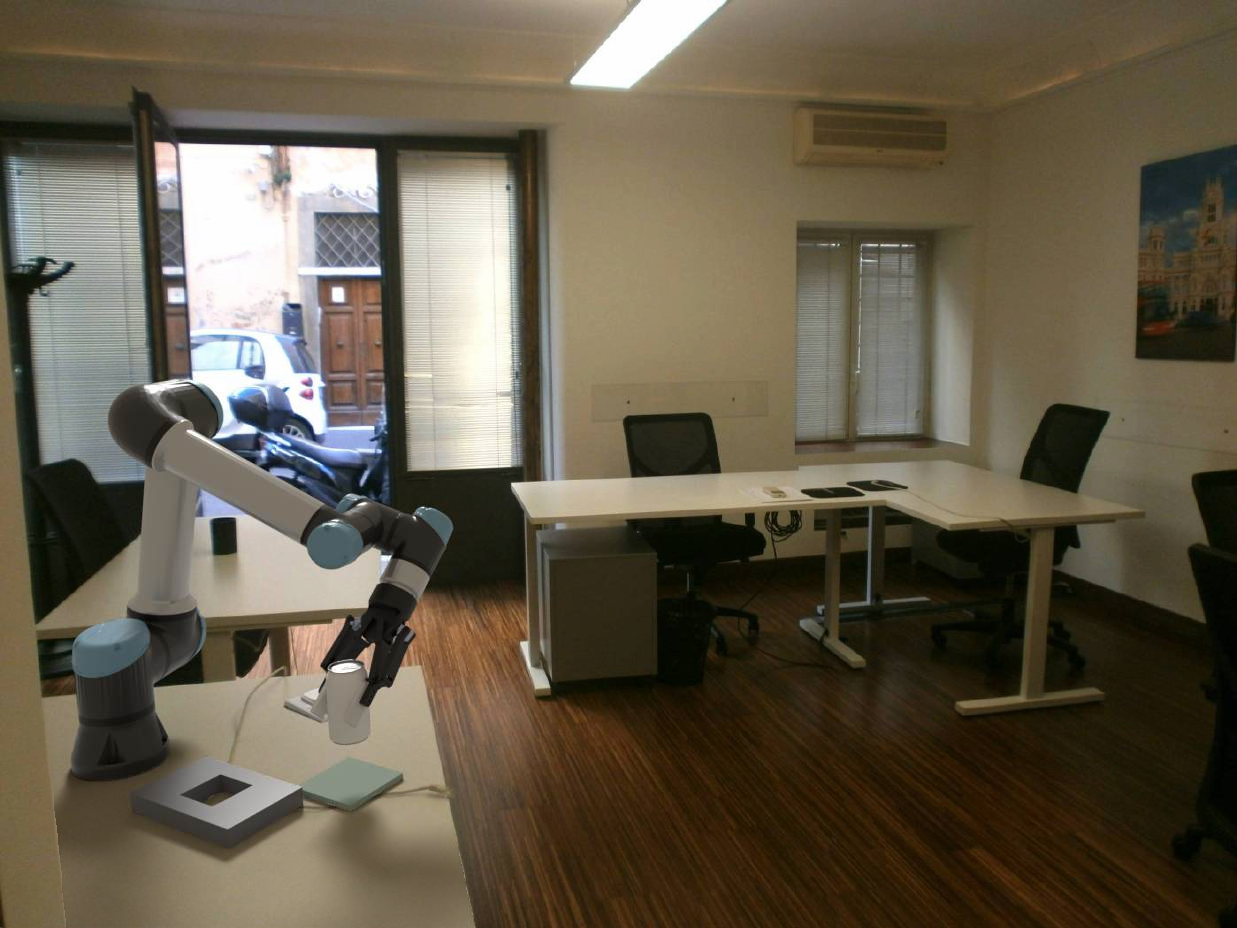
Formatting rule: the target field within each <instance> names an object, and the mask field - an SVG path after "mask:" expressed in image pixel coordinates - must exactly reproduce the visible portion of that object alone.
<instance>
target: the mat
mask: <svg viewBox="0 0 1237 928" xmlns="http://www.w3.org/2000/svg"><path fill="white" fill-rule="evenodd" d="M400 779H401V780H403V779H404V773H403V772H401V771H398V770H395V769H392V768H388V767H385V766H381V765H378V764H374V763H370V762H368V761H364V760H361V759H358V758H355V757H354V758H353V757H351V756H348V757H346V758H344V759H343V760H341V761H339V762H337V763H335V764H333V765H331V766H330V767H328V768H326V769H324V770H323V771H321V772H319V773H317V774H315V775H314V776H312V777H310V778H308V779H307V780H305V781H303V782H301V783H300V784H298V786H301V787H302V790H303V795H304V796H303V797H305V796H306V798H308V797H309V799H311V798H312V799H311V800H314V801H318V802H320V803H323V802H325V803H324V804H326V803H329V804H332V805H335V806H338V807H339V809H342V810H345V811H347V810H348V812H351V813H352V810H353V811H354V810H356V809H357V808H359V807H361V806H362V805H364V804H365V803H367V802H368V801H370V800H371V799H372V798H371V797H372V796H373V795H375V794H377V793H379V792H381V793H383V792H384V791H386V790H387V789H389V788H390V787H392V786H393V784H394V783H395V784H396V782H397V781H398V782H400V781H401V780H400ZM399 780H400V781H399ZM398 782H397V783H398ZM395 784H394V785H395ZM388 787H389V788H388ZM386 788H387V789H386ZM385 789H386V790H385ZM383 790H384V791H383ZM382 791H383V792H382ZM379 794H380V793H379ZM370 798H371V799H370ZM369 799H370V800H369ZM367 800H368V801H367ZM366 801H367V802H366ZM364 802H365V803H364ZM363 803H364V804H363ZM329 804H328V805H329ZM332 805H331V806H332ZM335 806H334V807H335ZM338 807H337V808H338Z"/></svg>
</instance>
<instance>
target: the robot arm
mask: <svg viewBox="0 0 1237 928" xmlns="http://www.w3.org/2000/svg"><path fill="white" fill-rule="evenodd" d="M224 417H225V415H224V409H223V406H222V403H221V400H220V399H219V397H218V396H217V395H216V394H215V392H214V391H213V390H212V388H210V387H208V386H207V385H206V384H205V383H202V382H200V381H197V380H194V379H178V378H173V379H168V380H165V381H159V382H153V383H144V384H138V385H134V386H131V387H129V388H126V389H125V390H123V391H122V392H120V393H119V394H118V395H117V396H116V398H115V399H114V400H113V401H112V403H111V404H110V407H109V409H108V413H107V426H108V431H109V434H110V436H111V438H112V439H113V440H114V442H115V444H116V445H117V446H118V447H119V448H120V449H121V450H122V451H123V452H124V453H126V454H127V455H128V456H130V457H132V459H134V460H136V461H137V462H139V463H140V464H143V465H144V466H145V471H144V472H145V473H144V486H143V487H144V488H143V505H142V518H141V529H140V530H141V531H140V550H139V560H138V562H139V564H138V576H137V577H138V578H137V591H136V593H134V594H133V595H132V596H131V597H130V598H128V600H127V602H126V617H125V618H117V619H111V620H107V621H105V622H104V623H96V624H95V625H93V626H90V627H88V628H86V629H85V630H83V631H82V632H80V633H79V635H77V637H76V638H75V640H74V641H73V644H72V650H71V651H72V652H71V653H72V656H71V657H72V658H71V667H72V670H73V676H74V685H75V686H74V687H75V688H74V689H75V696H76V706H77V713H78V728H77V731H76V736H75V740H74V743H73V748H72V752H71V756H70V767H71V768H70V769H71V772H72V774H73V775H74V776H75V777H77V778H79V779H82V780H85V781H98V780H99V781H113V780H118V779H125V778H127V777H128V778H129V777H132V776H135V775H139V774H141V773H144V772H147V771H149V770H152V769H153V768H155V767H157V766H159V765H160V764H162V763H164V762H165V760H167V759H168V757H169V756H170V753H171V743H170V737H169V734H167V731H166V729H165V726H164V725H163V723H162V721H161V718H160V717H159V715H158V712H157V710H156V702H155V689H154V687H155V686H154V685H155V683H158V682H159V681H161V680H162V679H163V678H165V677H166V676H168V675H170V674H171V673H172V672H175V671H176V670H177V669H179V668H182V667H183V666H185V665H186V664H188V663H189V662H190V661H191V660H192V659H193V658H194V657H195V655H197V654H198V653H199V652H200V650H201V649H202V648H203V646H204V643H205V640H206V636H207V623H206V620H205V617H204V616H203V615H201V614H200V609H199V608H198V600H197V598H196V597H194V595H192V594H191V593H190V591H191V590H190V589H191V587H190V586H191V575H192V562H193V561H192V560H193V550H194V549H193V548H194V537H195V535H194V533H195V521H196V509H197V507H196V506H197V496H198V495H197V494H198V488H200V490H203V491H204V492H206V493H207V494H210V495H212V496H213V497H215V498H217V499H218V500H221V501H222V502H224V503H226V504H227V505H229V506H231V507H233V508H235V509H236V510H239V511H241V512H242V513H244V514H246V515H248V516H249V517H251V518H253V519H255V520H257V521H258V522H260V523H261V524H264V525H265V526H267V527H269V528H271V529H272V530H274V531H276V532H278V533H280V534H281V535H283V536H285V537H286V538H289V539H290V540H292V541H294V542H296V543H298V544H300V545H301V546H303V547H305V548H306V551H307V554H308V557H309V558H310V559H311V560H312V562H313V563H314V564H315V565H316V566H318V567H319V568H322V569H324V570H333V571H334V570H339V569H341V568H343V567H345V566H348V565H351V564H352V563H354V562H356V561H357V559H358V558H359V557H360V556H362V555H363V554H364V553H366V552H368V551H370V550H371V549H376V550H378V551H380V552H383V553H386V554H388V555H391V557H390V559H389V561H388V563H387V564H386V567H385V569H384V570H383V572H382V574H381V576H380V578H379V580H378V581H379V583H377V584H376V585H375V587H374V589H373V590H372V591H373V592H372V593H371V594H370V597H369V598H368V603H367V604H368V607H367V609H366V611H364V612H363V614H361V616H353V615H352V614H347V616H346V617H345V620H344V623H343V627H342V628H341V630H340V632H339V634H338V635H337V637H336V638H335V640H334V642H333V643H332V645H331V647H330V648H329V650H328V652H327V654H325V656H324V658H323V660H322V661H321V663H320V668H321V669H322V670H323V671H324V672H325V674H326V675H325V677H324V679H323V680H322V683H321V684H320V686H319V687H320V688H319V687H318V688H319V691H318V693H319V695H318V697H317V699H316V701H315V703H314V705H313V706H312V708H311V710H310V712H311V713H313V714H314V715H316V716H317V717H318V718H320V719H323V718H324V716H325V715H326V713H327V711H328V709H327V692H326V676H327V673H328V671H329V670H328V667H329V666H330V665H331V664H333V663H335V662H338V661H343V660H358V657H359V656H360V655H361V654H362V653H363V652H364V650H365V649H368V648H369V647H370V646H371V645H372V644H374V650H373V654H372V658H371V659H372V660H371V663H370V668H369V672H368V678H367V679H366V678H365V680H366V681H367V682H368V684H367V683H365V682H362V683H361V685H360V687H359V689H358V691H357V693H356V695H355V697H354V699H353V701H352V703H351V705H350V707H349V709H348V711H347V713H346V715H345V717H344V719H343V721H345V722H346V723H347V724H349V725H350V726H351V727H354V728H356V727H357V725H358V723H359V721H360V719H361V717H362V715H363V713H364V711H365V709H366V707H369V706H371V704H372V703H373V701H374V699H375V697H376V694H377V693H378V692H379V690H381V689H382V688H386V689H390V688H391V687H392V686H393V685H394V682H395V680H396V677H397V675H398V672H399V670H400V667H401V665H402V662H403V660H404V658H405V655H406V653H407V651H408V648H409V646H410V645H411V644H412V642H413V640H414V639H415V638H416V636H417V634H416V632H415V631H414V630H413V629H412V628H410V627H409V626H408V625H406V622H409V621H410V619H411V617H412V615H413V614H414V611H415V609H416V607H417V606H418V600H420V598H421V597H422V595H423V593H424V591H425V589H426V586H427V585H428V583H429V581H430V579H431V577H432V575H433V572H434V571H435V569H436V567H437V565H438V564H439V561H440V559H441V558H442V555H443V553H444V552H445V550H446V549H447V544H448V543H449V539H450V538H451V535H452V533H453V530H454V526H453V523H452V520H451V519H450V517H448V516H447V515H446V514H445V513H443V512H441V511H439V510H437V509H436V508H432V507H427V506H420V507H418V508H417V509H415V512H413V513H412V514H410V513H409V514H408V513H404V512H402V511H399V510H397V509H394V508H393V507H390V506H387V505H384V504H383V503H379V502H377V501H374V500H372V499H371V498H369V497H367V496H362V495H359V494H355V493H349V494H345V496H343V497H342V499H341V501H339V502H338V504H337V506H336V508H335V509H334V508H332V507H331V506H329V505H327V504H326V503H324V502H322V501H320V500H319V499H317V498H315V497H313V496H311V495H310V494H308V493H306V492H304V491H302V490H301V489H299V488H297V487H295V486H294V485H292V484H290V483H288V482H287V481H285V480H283V479H281V478H279V477H277V476H276V475H275V474H272V473H271V472H268V471H267V470H265V469H263V468H262V467H260V466H259V465H256V464H255V463H252V462H251V461H250V460H247V459H245V458H244V457H242V456H240V455H238V454H236V453H235V452H233V451H231V450H230V449H228V448H226V447H224V446H222V445H221V444H219V443H217V442H215V441H214V440H212V439H214V438H215V437H216V436H217V434H218V433H219V432H220V431H221V429H222V426H223V423H224ZM112 779H113V780H112Z"/></svg>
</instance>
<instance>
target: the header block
mask: <svg viewBox="0 0 1237 928" xmlns="http://www.w3.org/2000/svg"><path fill="white" fill-rule="evenodd" d="M298 785H299V784H298ZM298 785H297V784H294V783H291V782H289V781H286V780H285V781H284V780H282V779H279V778H275V777H273V776H270V775H266V774H263V773H260V772H258V771H254V770H251V769H249V768H245V767H242V766H239V765H236V764H233V763H229V762H227V761H224V760H220V759H218V758H213V757H211V756H204V757H202V758H200V759H198V760H195V761H193V762H192V763H190V764H187V765H186V766H185V765H184V766H183V767H181V768H180V769H177V770H175V771H173V772H171V773H169V774H167V775H165V776H163V777H161V778H158V779H157V780H154V781H152V782H150V783H148V784H146V785H144V786H142V787H140V788H138V789H137V788H136V790H133V791H131V792H129V796H130V797H129V798H130V807H131V812H133V811H135V812H137V813H136V814H138V813H139V815H141V814H142V815H141V816H144V817H147V818H148V819H151V820H154V821H156V822H159V823H162V824H164V825H168V826H170V827H172V828H173V829H177V830H179V831H183V832H184V833H187V834H190V835H193V836H195V837H198V838H200V839H203V840H206V841H208V842H210V843H213V844H216V845H219V846H221V847H223V848H227V849H231V848H233V847H235V846H236V845H238V844H240V843H241V842H243V841H245V840H246V839H249V838H250V837H251V836H253V835H255V834H256V833H259V832H260V831H262V830H264V829H265V828H267V827H268V826H270V825H272V824H274V823H276V822H277V821H278V820H280V819H282V818H283V817H286V816H287V815H289V814H291V813H292V812H294V811H295V810H297V809H298V808H300V806H301V807H302V806H304V796H303V790H302V787H301V786H298ZM220 793H225V794H227V795H229V796H231V797H229V798H228V797H227V798H226V799H224V800H222V801H221V802H219V803H217V804H215V805H213V806H211V805H208V804H206V803H203V802H206V801H207V800H208V798H209V797H211V796H213V795H214V796H217V795H218V794H220ZM233 795H234V796H233ZM214 796H213V797H214ZM211 798H212V797H211ZM209 799H210V798H209ZM135 812H134V813H135Z"/></svg>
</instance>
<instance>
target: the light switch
mask: <svg viewBox="0 0 1237 928" xmlns="http://www.w3.org/2000/svg"><path fill="white" fill-rule="evenodd" d="M319 688H320V686H319V687H317V688H315V689H311V690H309V691H306V692H304V693H302V694H301V695H298V696H295V697H292V698H289V699H287V700H285V701H284V702H283V704H284V706H285V707H287V708H289V709H291V710H293V711H295V712H297V711H298V712H297V713H299V712H300V713H299V714H301V713H302V715H304V716H306V715H307V716H306V717H308V716H309V718H310V719H313V718H314V719H313V720H315V719H316V720H315V721H317V720H318V721H317V722H319V721H320V722H319V723H322V722H323V723H326V722H328V721H327V720H328V711H327V713H326V715H325V716H324V718H323V719H320V718H318V717H317V716H316V715H314V714H313V713H311V712H310V710H311V708H312V706H313V705H314V703H315V701H316V699H317V697H318V695H319V693H318V691H319ZM325 721H326V722H325Z"/></svg>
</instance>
